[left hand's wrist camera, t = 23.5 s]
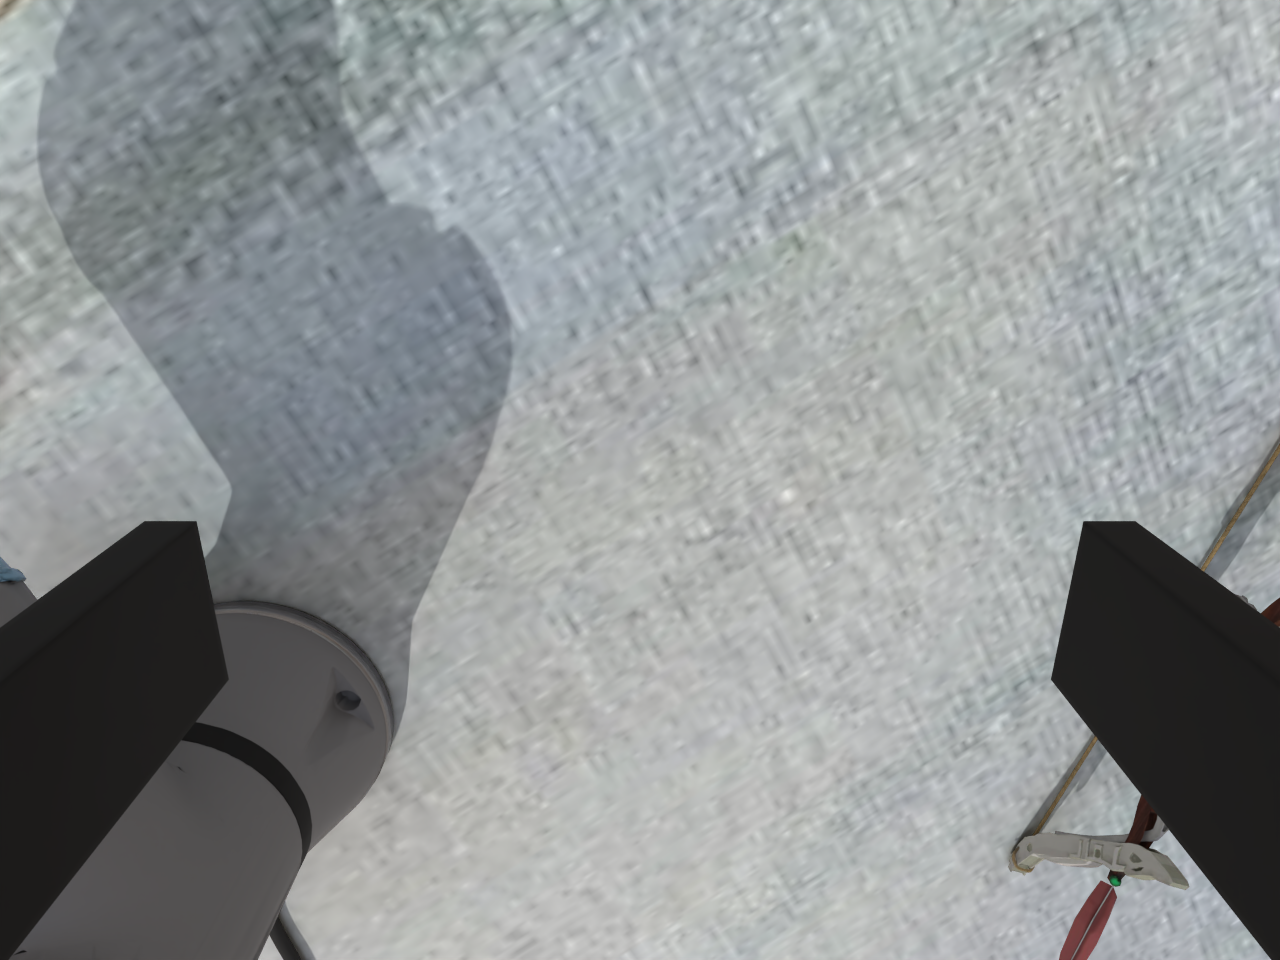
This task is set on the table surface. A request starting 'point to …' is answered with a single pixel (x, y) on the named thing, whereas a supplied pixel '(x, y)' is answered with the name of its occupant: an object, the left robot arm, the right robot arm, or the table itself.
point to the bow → (1114, 850)
